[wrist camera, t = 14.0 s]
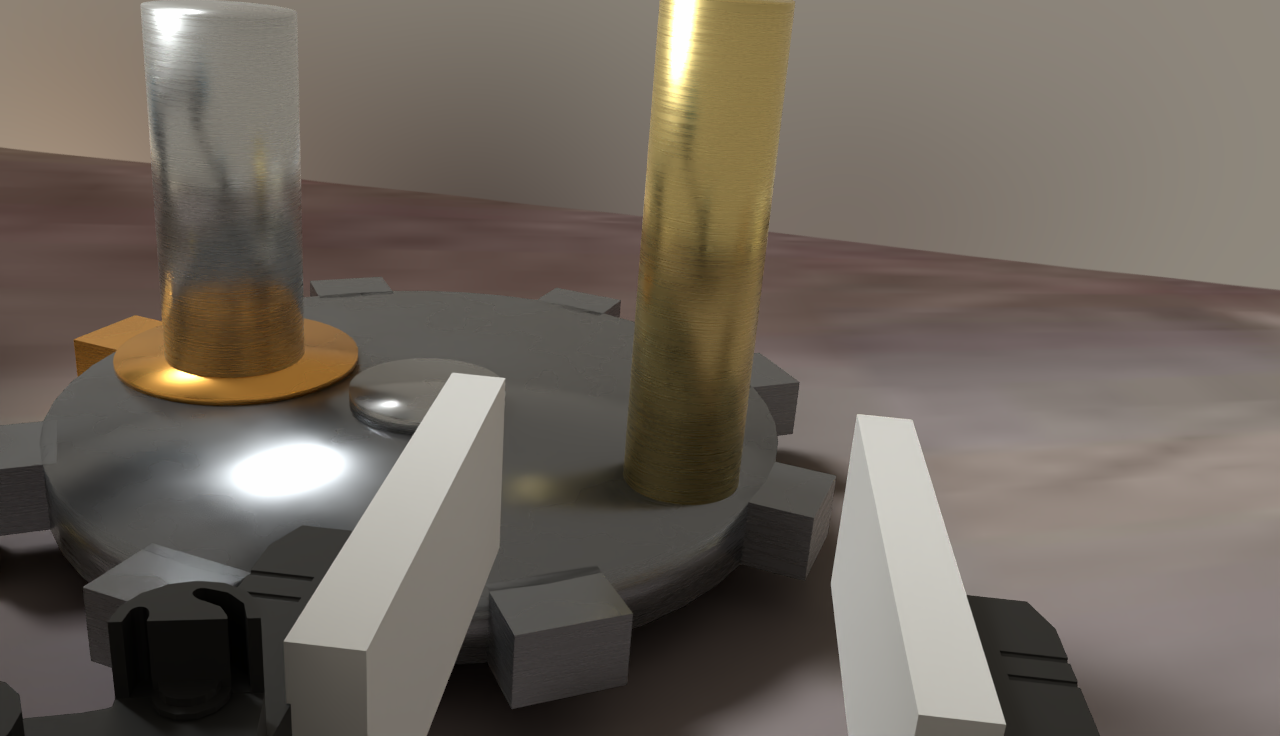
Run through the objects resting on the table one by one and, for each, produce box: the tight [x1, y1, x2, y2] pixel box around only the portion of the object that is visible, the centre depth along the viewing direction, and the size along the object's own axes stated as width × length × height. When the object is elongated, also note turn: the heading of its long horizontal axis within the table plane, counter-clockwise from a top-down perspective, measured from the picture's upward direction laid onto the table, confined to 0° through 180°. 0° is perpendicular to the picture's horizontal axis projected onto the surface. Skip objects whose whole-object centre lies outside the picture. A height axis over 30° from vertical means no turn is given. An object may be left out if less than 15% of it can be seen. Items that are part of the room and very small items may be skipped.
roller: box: [141, 0, 305, 378], centre depth 34 cm, size 4×4×10 cm
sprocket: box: [0, 0, 836, 709], centre depth 32 cm, size 23×23×14 cm
